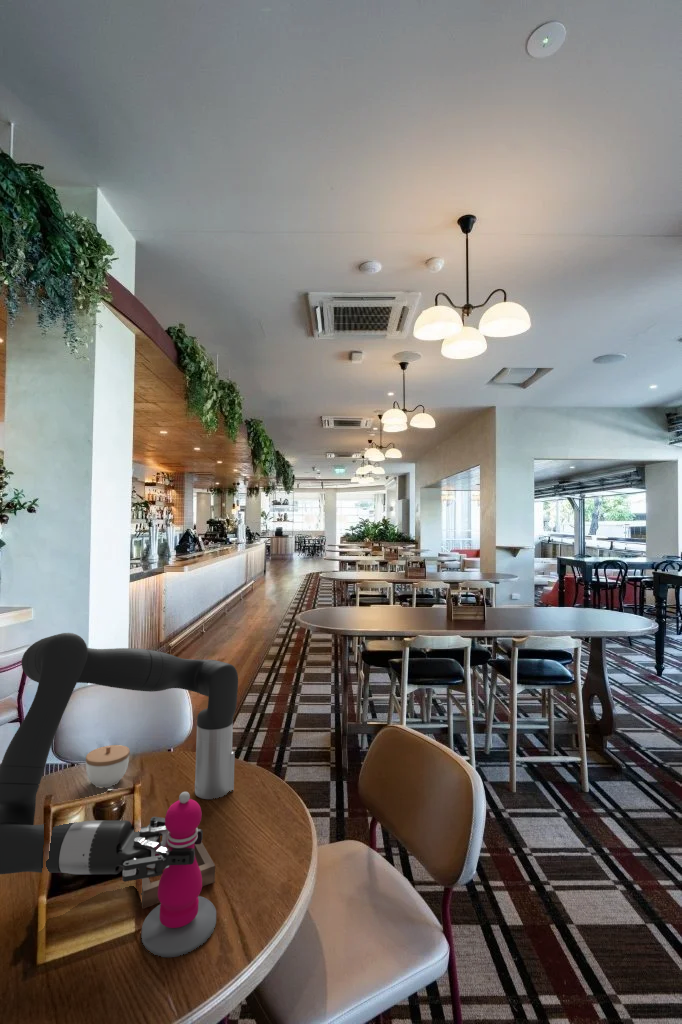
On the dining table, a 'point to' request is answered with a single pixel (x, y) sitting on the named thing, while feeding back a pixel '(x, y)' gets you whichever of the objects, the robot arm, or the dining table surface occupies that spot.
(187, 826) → the pepper mill
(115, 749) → the lidded jar
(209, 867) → the walnut board
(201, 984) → the dining table surface
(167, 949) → the grey round disc
